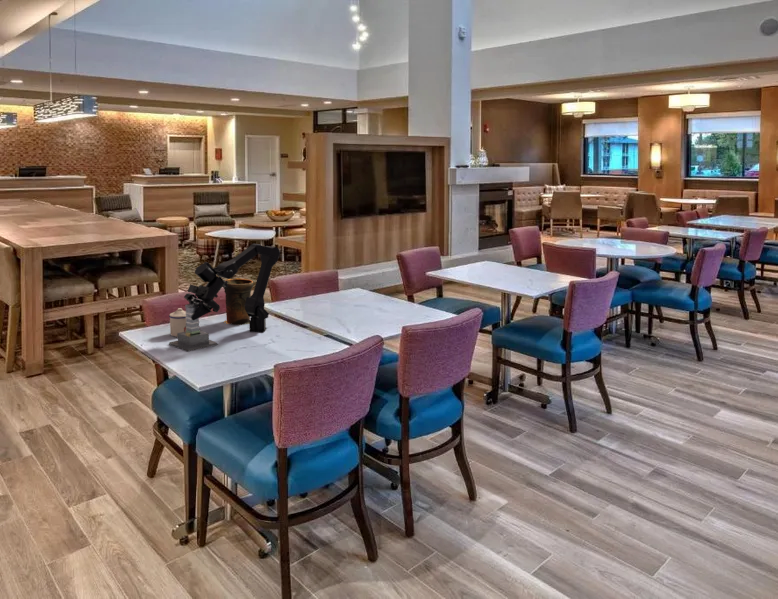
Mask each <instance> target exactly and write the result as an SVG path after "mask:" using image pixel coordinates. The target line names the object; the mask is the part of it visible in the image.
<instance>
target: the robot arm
mask: <svg viewBox="0 0 778 599" xmlns="http://www.w3.org/2000/svg"><path fill="white" fill-rule="evenodd" d="M280 254H281V251H280V249H279V248H278V247H276V246H269V245H265V246H264V245H261V244H258V243H252V244H250V245H249V247H247V248H246V249H244V250H243V251H242V252H240V253H239V254H237V255H236V256H235V257H233V258H232V259H229V260H228V261H224V262H221V263H220V264H218V265H217V266H216V267H215V266H214V267H212V265H211V264H210V263H209V262H207V261H204V262H203V263H201V264H200V265H199V266H197V267H196V268H195V269H194V274H195V275H196V276H198V277H199V279H200V280H202V281H203V283H206V285H202V284H199V285H194V284H190V285H189V287H188V289H187V292H188V293H186V294H185V295H184V296H183V298H184V300H186V301H188V304H193V303H197V304H199V306H198V309H197V311H196V312H195V314H194V316H193V317H192V320H196V319H197V318H199V319H200V318H201V317H203V316H206V315H207V314H210V313H212V312H215V313H218V312H219V311H220V309H221V306H220V304H219V303H217V302H216V301H215V300H214V299H215V298H218V297H219V295H218V294H219V292H220V291H221V290H222V288H223V287H228V284H227V281H225V280H228V279H233V278H234V277H235V275H236V274H238V272H239V269H240V268H242V266H244V265H246V264H247V263H248V262H249V261H250V260H252V259H253V258H254V257H255V256H257V255H260V262H261V264H260V268H259V272H258V275H257V279H256V282H255V286H254V287H253V292H252V295H251V297H247V298H246V303H245V304H244V305H245V310H246V312H247V314H248V316H249V317H250V321H249V324H248V326H249V327H248V328H249V332H250V333H253V332H254V333H264V332H266V330H267V329H268V328H267V324H266V323H267V322H266V321H267V320H266V319H268V318H269V315H270V314H269V312H268V311H267V310H266V309H265V304H266V303H265V298H264V297H265V296H264V295H265V293H266V289H267V286H268V282H269V279H270V277H271V273H272V269H273V267H274V266H275V265H276V264H277V263H278V260H279V258H280Z"/></svg>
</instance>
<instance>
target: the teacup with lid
mask: <svg viewBox="0 0 778 599" xmlns="http://www.w3.org/2000/svg"><path fill="white" fill-rule="evenodd" d="M185 312H186V310H183V308H181V307H179V308H177V310H175V311H174V312H171V313H169V326H170V329H169V330H170V335H171V336H172V337H177V338H178V334H177V333H181V332H186V330H187V328H186V326H187V325H186V313H185Z"/></svg>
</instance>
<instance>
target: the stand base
mask: <svg viewBox="0 0 778 599" xmlns="http://www.w3.org/2000/svg"><path fill="white" fill-rule="evenodd" d="M177 334H178V337H177V340H173V341H169V342H168V344H169V346H172V347H174V348H177V349H180V350H182V351H186V352H188V353H189V352H193V351H197V350H201V349H205V348H211V347H214V346H218V345H219V344H218V342H217V341H214V340H212V339H210V334H209V332H206V331H203V330H200V333H196V334H190V333H189V332H188V333H186V332H181V333H177Z"/></svg>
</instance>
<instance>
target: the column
mask: <svg viewBox="0 0 778 599" xmlns="http://www.w3.org/2000/svg"><path fill="white" fill-rule="evenodd" d="M198 307H199V304H197V303H193V304H189V303H188V304H185V305H184V308H185V311H186V312H185V313H186V325H187V326H186V328H187V330H186V333H188V332H189V333H190V334H196V333H200V331H201V330H200V317H199V318H197V319H196V320H192V317H193V316H194V314H195V312H196V311H197V309H198Z"/></svg>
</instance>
